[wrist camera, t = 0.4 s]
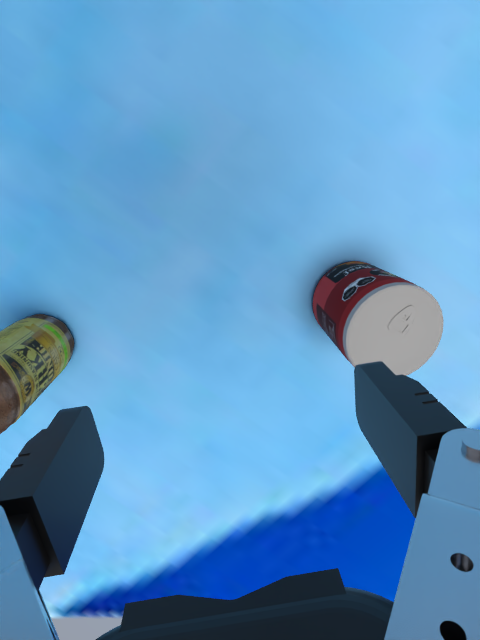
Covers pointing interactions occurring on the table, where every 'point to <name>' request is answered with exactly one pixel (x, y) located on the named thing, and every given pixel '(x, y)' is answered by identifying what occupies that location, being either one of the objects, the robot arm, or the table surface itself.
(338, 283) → the canned food
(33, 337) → the sauce bottle
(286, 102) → the table surface
